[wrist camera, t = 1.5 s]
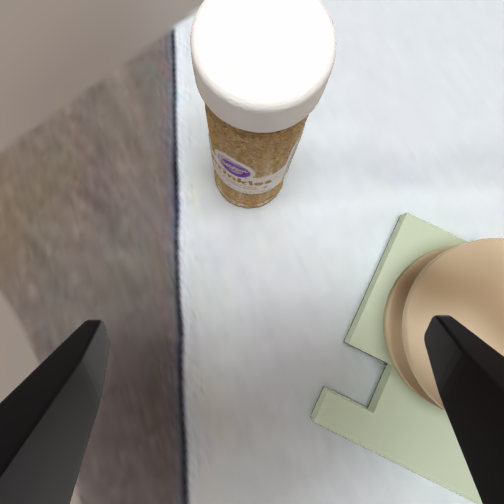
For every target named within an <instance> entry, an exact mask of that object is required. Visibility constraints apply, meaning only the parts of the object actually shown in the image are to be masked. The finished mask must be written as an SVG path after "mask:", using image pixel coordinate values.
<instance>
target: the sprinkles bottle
mask: <svg viewBox="0 0 504 504" xmlns="http://www.w3.org/2000/svg"><path fill="white" fill-rule="evenodd" d="M190 46H191V55H192V64H193V70H194V75H195V80H196V85H197V88H198V90H199V93H200V95H201V97H202V99H203V100H204V102H205V110H206V116H207V122H208V128H209V142H210V148H211V155H212V160H213V164H214V167H215V181H216V185H217V187H218V189H219V190H220V192H221V193H222V195H223V196H224V197H225V198H226V199H227V200H228V201H230V202H231V203H233V204H235V205H236V206H241V207H245V208H252V207H259V206H262V205H264V204H266V203H268V202H270V201H271V200H272V199H273V198H275V196H276V195H277V194H278V192H279V191H280V189H281V188H282V185H283V179H284V176H285V174H286V173H287V170H288V168H289V165H290V163H291V160H292V158H293V155H294V153H295V150H296V148H297V146H298V143H299V141H300V138H301V135H302V133H303V130H304V126H305V122H306V120H307V117H308V115H309V114H310V112H311V111H312V110H313V109H314V108H315V106H316V105H317V103H318V102H319V100H320V98H321V96H322V94H323V91H324V89H325V87H326V84H327V81H328V79H329V76H330V74H331V71H332V68H333V65H334V60H335V55H336V36H335V30H334V26H333V22H332V20H331V18H330V16H329V13H328V12H327V10H326V8H325V7H324V5H323V4H322V3H321V1H320V0H204V2H203V3H202V4H201V6H200V8H199V9H198V11H197V14H196V16H195V18H194V21H193V25H192V30H191V36H190Z"/></svg>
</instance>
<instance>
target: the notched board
mask: <svg viewBox="0 0 504 504" xmlns="http://www.w3.org/2000/svg"><path fill="white" fill-rule="evenodd" d="M464 243H467V241H465V240H463V239H461V238H459V237H457V236H455V235H453V234H451V233H449V232H447V231H444V230H442V229H440V228H438V227H436V226H434V225H432V224H430V223H428V222H426V221H424V220H422V219H420V218H418V217H416V216H414V215H412V214H409V213H405V214H403V215H401V216H400V218H399V220H398V222H397V225H396V227H395V229H394V231H393V234H392V236H391V238H390V240H389V243H388V245H387V247H386V249H385V251H384V254H383V256H382V258H381V260H380V263H379V265H378V267H377V269H376V272H375V274H374V276H373V278H372V281H371V283H370V285H369V287H368V289H367V292H366V294H365V296H364V298H363V301H362V303H361V305H360V307H359V310H358V312H357V314H356V316H355V319H354V321H353V323H352V325H351V327H350V330H349V332H348V334H347V336H346V339H345V341H344V342H345V343H347V344H349V345H351V346H354V347H356V348H358V349H360V350H362V351H364V352H366V353H368V354H370V355H372V356H374V357H376V358H378V359H380V360H382V361H384V362H386V363H387V365H386V367H385V370H384V372H383V374H382V376H381V379H380V381H379V383H378V386H377V388H376V390H375V393H374V395H373V397H372V400H371V402H370V404H369V407H368V408H367V407H365V406H363V405H361V404H359V403H357V402H355V401H353V400H351V399H349V398H347V397H345V396H343V395H340V394H338V393H336V392H334V391H332V390H330V389H328V388H326V387H324V388H323V390H322V392H321V394H320V397H319V399H318V401H317V403H316V406H315V408H314V410H313V412H312V415H311V419H312V420H313V422H314V423H316V424H318V425H320V426H322V427H324V428H326V429H328V430H330V431H332V432H334V433H336V434H338V435H340V436H342V437H344V438H346V439H348V440H350V441H352V442H354V443H356V444H358V445H360V446H362V447H364V448H366V449H368V450H370V451H372V452H374V453H376V454H378V455H380V456H382V457H384V458H386V459H388V460H390V461H392V462H394V463H396V464H398V465H400V466H402V467H404V468H406V469H408V470H410V471H412V472H414V473H416V474H418V475H420V476H422V477H424V478H426V479H428V480H430V481H432V482H434V483H436V484H438V485H440V486H442V487H445V488H447V489H449V490H451V491H453V492H455V493H457V494H459V495H461V496H463V497H465V498H467V499H469V500H471V501H473V502H475V503H477V504H483V503H482V501H481V498H480V496H479V493H478V491H477V488H476V486H475V483H474V481H473V478H472V476H471V473H470V471H469V468H468V466H467V463H466V461H465V458H464V456H463V453H462V451H461V448H460V446H459V443H458V441H457V438H456V436H455V433H454V431H453V428H452V426H451V423H450V421H449V418H448V416H447V413H446V411H445V410H443V409H440V408H439V407H437V406H435V405H433V404H432V403H430V402H428V401H426V400H425V399H423V398H422V397H420V396H419V395H418V394H416V393H415V392H414V391H413V390H412V389H411V388H410V387H409V386H408V385H407V384H406V383H405V382H404V381H403V379H402V378H401V377H400V375H399V374H398V372H397V371H396V369H395V367H394V366H393V363H392V361H391V359H390V357H389V354H388V351H387V347H386V344H385V338H384V327H383V320H384V310H385V306H386V301H387V299H388V296H389V293H390V291H391V289H392V287H393V285H394V283H395V281H396V280H397V278H398V277H399V276H400V274H401V273H402V272H403V271H404V270H405V269H406V268H407V267H408V266H409V265H410V264H411V263H412V262H414V261H415V260H416V259H418V258H419V257H421V256H423V255H424V254H427V253H429V252H431V251H434V250H437V249H441V248H445V247H449V246H456V245H460V244H464Z"/></svg>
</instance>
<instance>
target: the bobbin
mask: <svg viewBox="0 0 504 504" xmlns="http://www.w3.org/2000/svg"><path fill="white" fill-rule="evenodd" d="M435 315H450V316H452V317H453V318H454V319H456V320H457V321H458V322H460V323H461V324H462V325H464V326H465V327H466V328H467V329H469V330H470V331H471V332H473V333H474V334H475V335H477V336H478V337H479V338H481V339H482V340H483V341H484V342H486V343H487V344H488V345H490V346H491V347H492V348H494V349H495V350H496V351H497V352H499V353H500V354H501V355H503V356H504V239H502V238H489V239H482V240H476V241H471V242H467V243H464V244H460V245H456V246H449V247H445V248H441V249H437V250H434V251H431V252H429V253H427V254H424V255H423V256H421V257H419V258H418V259H416V260H415V261H414V262H412V263H411V264H410V265H409V266H408V267H407V268H406V269H405V270H404V271H403V272H402V273H401V274H400V276H399V277H398V278H397V280H396V281H395V283H394V285H393V287H392V289H391V291H390V293H389V296H388V299H387V301H386V306H385V310H384V320H383V327H384V338H385V344H386V347H387V351H388V354H389V357H390V359H391V361H392V363H393V366H394V367H395V369H396V371H397V372H398V374H399V375H400V377H401V378H402V379H403V381H404V382H405V383H406V384H407V385H408V386H409V387H410V388H411V389H412V390H413V391H414V392H415V393H416V394H418V395H419V396H420V397H422V398H423V399H425V400H426V401H428V402H430V403H432V404H433V405H435V406H437V407H439V408H440V409H443V410H445V408H444V406H443V403H442V401H441V398H440V395H439V392H438V389H437V386H436V382H435V379H434V375H433V371H432V368H431V364H430V361H429V357H428V353H427V350H426V346H425V342H424V335H425V332H426V330H427V327H428V325H429V323H430V321H431V319H432V317H433V316H435Z"/></svg>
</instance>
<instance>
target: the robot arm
mask: <svg viewBox="0 0 504 504" xmlns="http://www.w3.org/2000/svg"><path fill="white" fill-rule="evenodd" d="M424 342H425V346H426V350H427V353H428V357H429V361H430V364H431V368H432V371H433V375H434V379H435V382H436V386H437V389H438V392H439V395H440V398H441V401H442V403H443V406H444V408H445V411H446V413H447V416H448V418H449V421H450V423H451V426H452V428H453V431H454V433H455V436H456V438H457V441H458V443H459V446H460V448H461V451H462V453H463V456H464V458H465V461H466V463H467V466H468V468H469V471H470V473H471V476H472V478H473V481H474V483H475V486H476V488H477V491H478V493H479V496H480V498H481V501H482V503H483V504H504V356H503V355H501V354H500V353H499V352H497V351H496V350H495V349H494V348H492V347H491V346H490V345H488V344H487V343H486V342H484V341H483V340H482V339H481V338H479V337H478V336H477V335H475V334H474V333H473V332H471V331H470V330H469V329H467V328H466V327H465V326H464V325H462V324H461V323H460V322H458V321H457V320H456V319H454V318H453V317H452V316H450V315H435V316H433V317H432V319H431V321H430V323H429V325H428V327H427V330H426V332H425V335H424ZM109 350H110V339H109V336H108V333H107V330H106V327H105V324H104V322H103V321H102V320H87V321H85V322H84V323H83V324H82V325H81V326H80V327H79V328H78V329H77V330H76V331H75V332H73V333H72V334H71V335H70V336H69V337H68V338H67V339H66V340H65V341H64V342H63V343H62V344H61V345H60V346H59V347H58V348H57V349H56V350H55V351H54V352H53V353H52V354H51V355H50V356H49V357H48V358H47V359H45V360H44V361H43V362H42V363H41V364H40V365H39V366H38V367H37V368H36V369H35V370H34V371H33V372H32V373H31V374H30V375H29V376H28V377H27V378H26V379H25V380H24V381H23V382H22V383H21V384H20V385H19V386H17V387H16V389H14V390H13V391H12V392H11V393H10V394H9V395H8V396H7V397H6V398H5V399H4V400H3V401H2V402H1V403H0V504H70V501H71V497H72V494H73V491H74V487H75V484H76V481H77V477H78V474H79V471H80V467H81V464H82V461H83V457H84V454H85V451H86V447H87V444H88V441H89V437H90V434H91V431H92V427H93V424H94V421H95V417H96V414H97V411H98V407H99V403H100V399H101V394H102V389H103V383H104V378H105V372H106V366H107V361H108V355H109Z"/></svg>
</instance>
